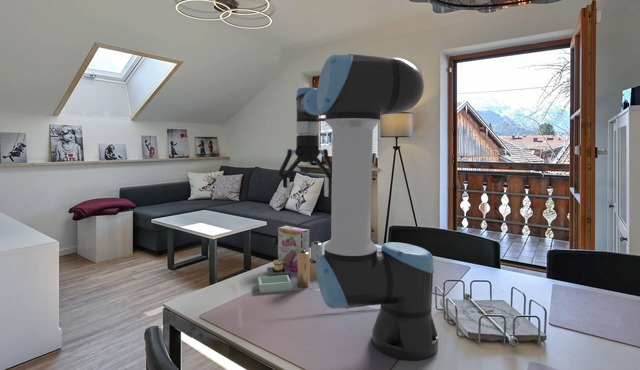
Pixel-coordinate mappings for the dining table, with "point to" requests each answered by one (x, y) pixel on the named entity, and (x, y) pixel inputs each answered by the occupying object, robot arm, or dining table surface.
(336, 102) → the robot arm
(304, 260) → the copper cell
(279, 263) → the brass short cylinder
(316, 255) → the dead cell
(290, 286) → the battery sorting tray
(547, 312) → the dining table surface
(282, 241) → the candy bar box
